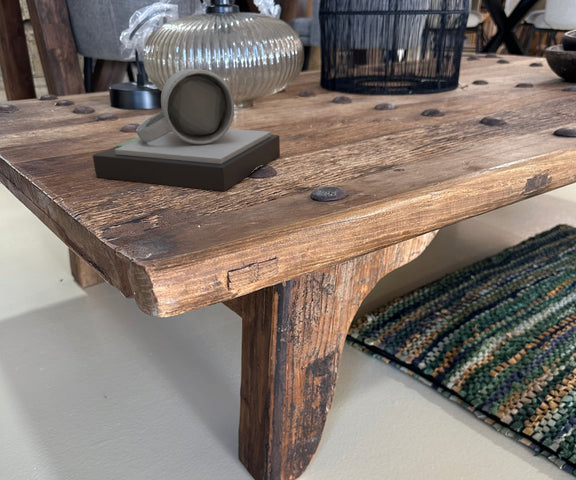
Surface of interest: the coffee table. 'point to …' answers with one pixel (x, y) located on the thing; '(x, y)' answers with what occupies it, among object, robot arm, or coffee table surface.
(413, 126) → the coffee table surface
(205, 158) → the scale
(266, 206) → the coffee table surface
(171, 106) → the ceramic mug
